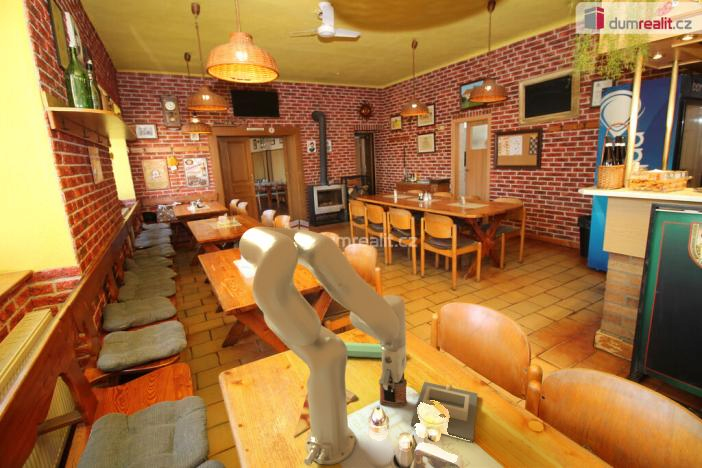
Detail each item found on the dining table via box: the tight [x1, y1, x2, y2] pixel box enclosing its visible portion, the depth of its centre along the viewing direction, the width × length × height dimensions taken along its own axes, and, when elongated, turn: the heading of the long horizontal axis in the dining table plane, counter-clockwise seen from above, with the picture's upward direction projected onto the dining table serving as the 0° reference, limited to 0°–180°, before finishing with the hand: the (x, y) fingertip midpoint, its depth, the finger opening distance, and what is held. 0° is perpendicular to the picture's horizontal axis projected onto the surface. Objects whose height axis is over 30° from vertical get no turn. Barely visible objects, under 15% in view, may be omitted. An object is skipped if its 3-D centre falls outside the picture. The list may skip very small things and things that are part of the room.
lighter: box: [378, 373, 408, 408], centre depth 101 cm, size 8×3×10 cm, turn 84°
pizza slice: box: [293, 389, 357, 438], centre depth 104 cm, size 16×22×2 cm
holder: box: [410, 381, 478, 442], centre depth 98 cm, size 18×16×4 cm
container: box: [343, 341, 382, 359], centre depth 126 cm, size 6×6×25 cm
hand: (394, 389), depth 102 cm, fingers open, 9 cm apart
